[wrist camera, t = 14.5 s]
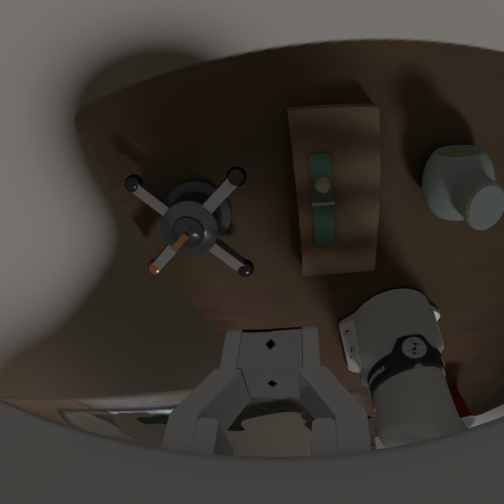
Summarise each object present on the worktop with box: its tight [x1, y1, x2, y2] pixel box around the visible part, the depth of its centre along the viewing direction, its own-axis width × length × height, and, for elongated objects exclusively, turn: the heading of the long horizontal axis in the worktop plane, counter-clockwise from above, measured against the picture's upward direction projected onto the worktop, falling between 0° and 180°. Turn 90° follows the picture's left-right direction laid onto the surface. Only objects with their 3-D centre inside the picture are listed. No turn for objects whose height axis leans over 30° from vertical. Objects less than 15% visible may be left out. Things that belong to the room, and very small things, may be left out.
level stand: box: [287, 103, 381, 276], centre depth 36 cm, size 22×10×4 cm, turn 9°
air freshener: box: [422, 145, 504, 230], centre depth 30 cm, size 11×8×10 cm
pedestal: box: [167, 180, 232, 239], centre depth 41 cm, size 9×9×1 cm
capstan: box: [125, 167, 254, 276], centre depth 38 cm, size 20×20×5 cm
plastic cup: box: [448, 386, 476, 428], centre depth 59 cm, size 11×11×12 cm
